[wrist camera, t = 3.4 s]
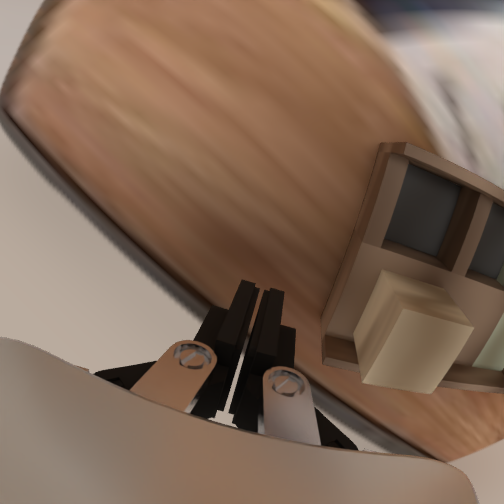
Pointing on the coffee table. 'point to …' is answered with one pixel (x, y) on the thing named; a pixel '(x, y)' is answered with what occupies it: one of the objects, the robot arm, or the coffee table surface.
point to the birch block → (409, 334)
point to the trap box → (426, 257)
